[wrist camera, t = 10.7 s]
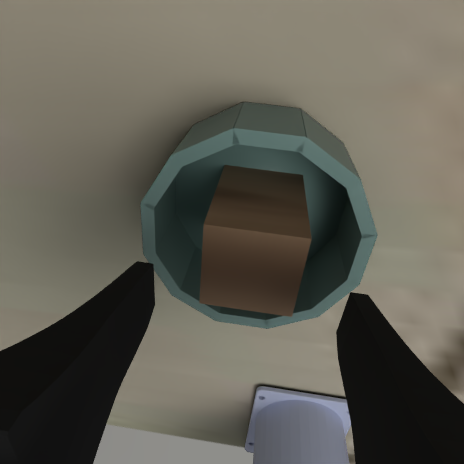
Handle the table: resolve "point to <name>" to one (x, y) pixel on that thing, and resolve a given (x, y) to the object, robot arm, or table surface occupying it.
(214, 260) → the walnut block
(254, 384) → the table surface
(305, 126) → the teal bowl
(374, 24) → the table surface
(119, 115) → the table surface
